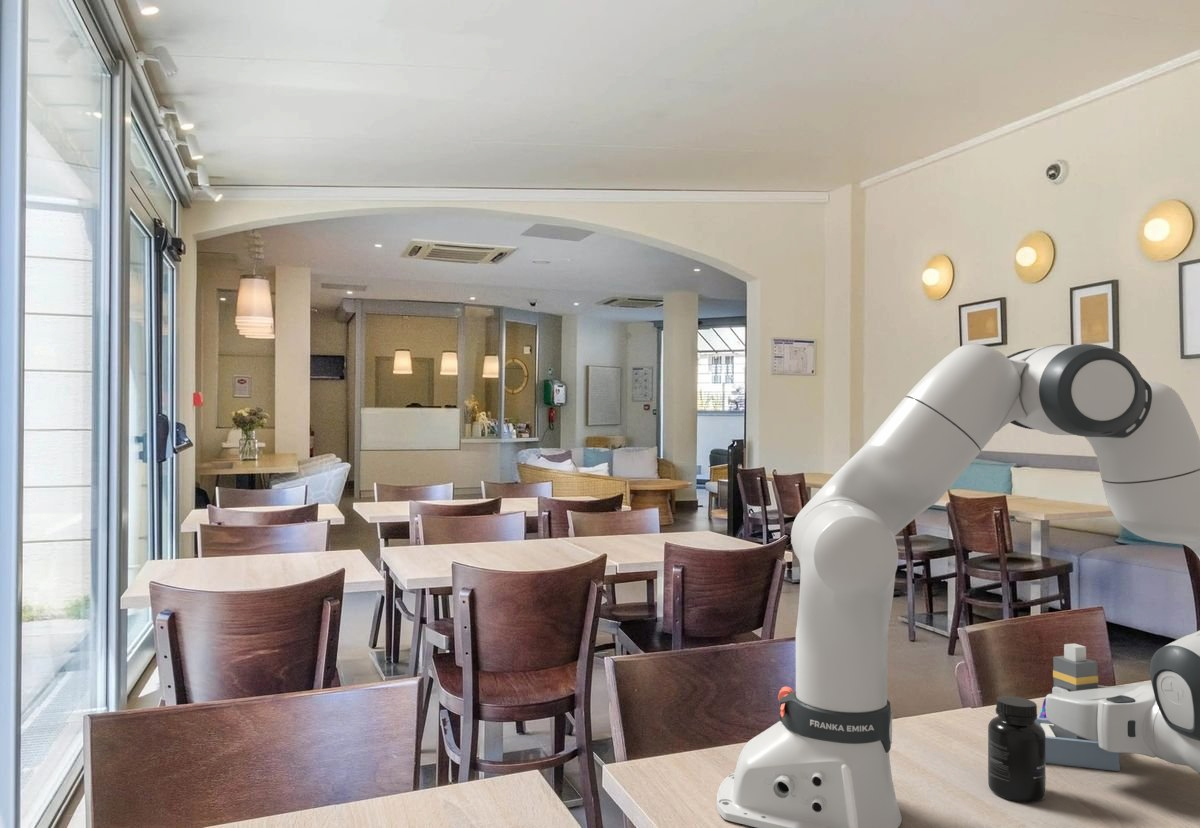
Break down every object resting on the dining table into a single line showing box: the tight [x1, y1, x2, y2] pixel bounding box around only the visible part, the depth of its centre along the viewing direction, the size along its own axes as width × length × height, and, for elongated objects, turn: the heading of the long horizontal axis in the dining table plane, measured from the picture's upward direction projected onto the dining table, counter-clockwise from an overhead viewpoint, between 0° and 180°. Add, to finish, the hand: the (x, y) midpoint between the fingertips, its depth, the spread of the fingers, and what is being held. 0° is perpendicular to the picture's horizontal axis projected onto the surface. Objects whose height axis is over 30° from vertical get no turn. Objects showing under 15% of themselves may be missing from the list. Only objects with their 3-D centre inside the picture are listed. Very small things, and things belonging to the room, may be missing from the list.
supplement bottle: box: [987, 695, 1047, 804], centre depth 111 cm, size 7×7×12 cm
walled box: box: [1035, 718, 1120, 772], centre depth 124 cm, size 14×9×4 cm, turn 73°
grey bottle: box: [1052, 643, 1099, 741], centre depth 123 cm, size 4×4×14 cm
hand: (1070, 689), depth 124 cm, fingers closed on grey bottle, 4 cm apart
